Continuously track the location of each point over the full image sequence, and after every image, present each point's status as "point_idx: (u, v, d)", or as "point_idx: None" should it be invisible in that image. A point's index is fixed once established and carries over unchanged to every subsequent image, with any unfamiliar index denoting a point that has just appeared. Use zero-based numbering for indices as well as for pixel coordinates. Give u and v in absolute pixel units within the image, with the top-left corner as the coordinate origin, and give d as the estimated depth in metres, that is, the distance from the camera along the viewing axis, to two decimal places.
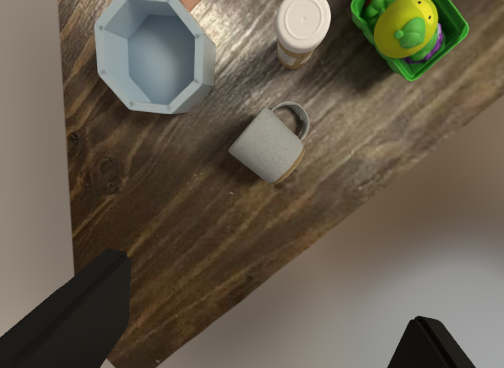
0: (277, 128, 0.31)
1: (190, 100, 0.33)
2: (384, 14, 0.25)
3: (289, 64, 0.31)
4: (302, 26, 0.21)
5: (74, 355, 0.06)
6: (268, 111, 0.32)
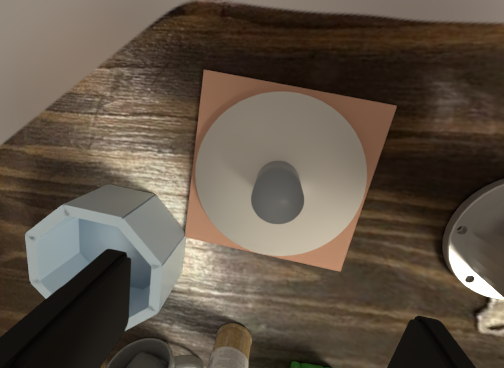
0: None
1: None
2: None
3: None
4: None
5: (74, 355, 0.06)
6: None
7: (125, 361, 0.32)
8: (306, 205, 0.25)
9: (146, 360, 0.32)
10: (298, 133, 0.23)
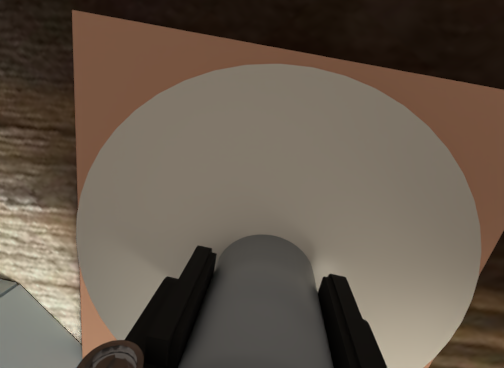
0: None
1: None
2: None
3: None
4: None
5: None
6: None
7: None
8: None
9: None
10: (312, 172, 0.09)
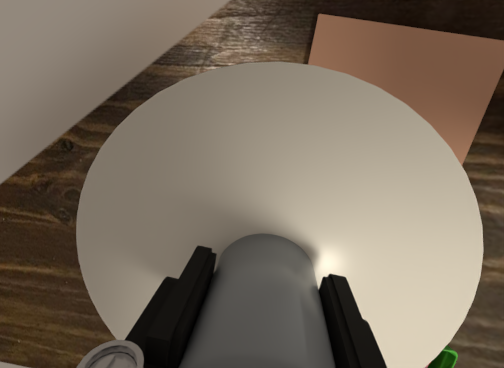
0: None
1: None
2: None
3: None
4: None
5: None
6: None
7: None
8: None
9: None
10: (314, 171, 0.09)
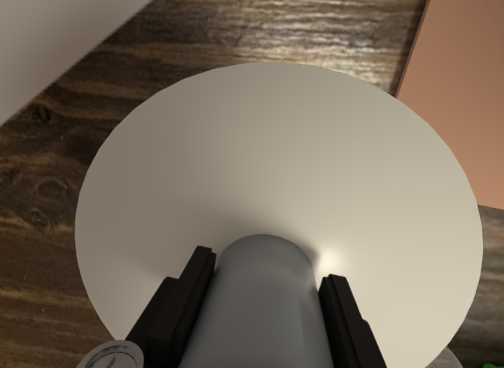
0: None
1: None
2: None
3: None
4: None
5: None
6: None
7: None
8: None
9: None
10: (313, 172, 0.09)
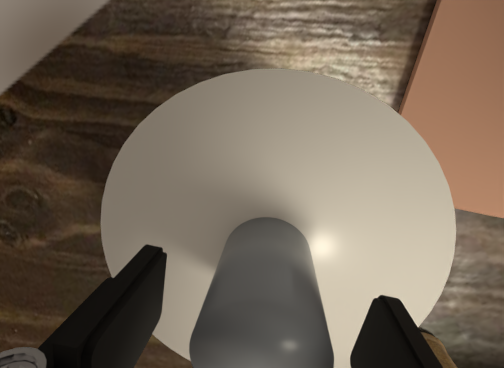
0: None
1: None
2: None
3: None
4: None
5: (125, 340, 0.07)
6: None
7: None
8: (324, 301, 0.12)
9: None
10: (309, 162, 0.10)
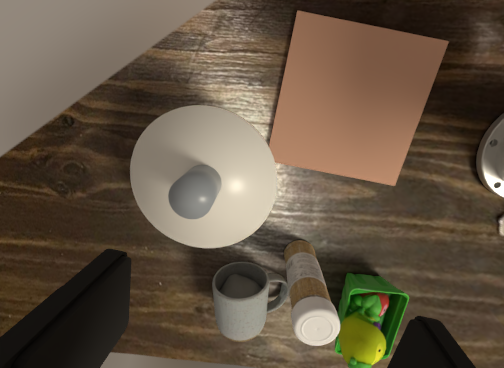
0: (261, 309, 0.33)
1: None
2: (360, 328, 0.31)
3: None
4: (311, 331, 0.25)
5: (74, 355, 0.06)
6: (267, 290, 0.34)
7: (221, 280, 0.37)
8: (229, 203, 0.28)
9: (241, 278, 0.37)
10: (217, 141, 0.26)
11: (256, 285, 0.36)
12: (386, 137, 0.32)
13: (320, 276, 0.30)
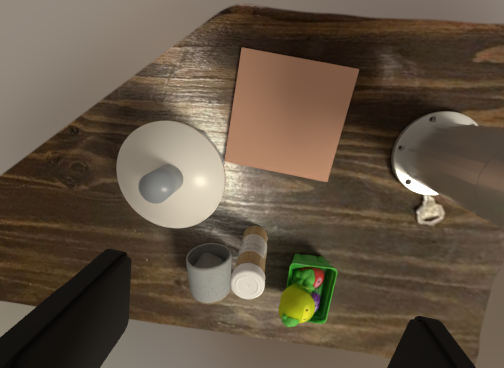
0: (223, 278, 0.42)
1: None
2: (293, 293, 0.39)
3: None
4: (243, 287, 0.33)
5: (74, 355, 0.06)
6: (228, 264, 0.43)
7: (195, 257, 0.46)
8: (189, 193, 0.37)
9: (211, 255, 0.46)
10: (178, 147, 0.36)
11: (222, 261, 0.45)
12: (317, 143, 0.40)
13: (260, 251, 0.38)
